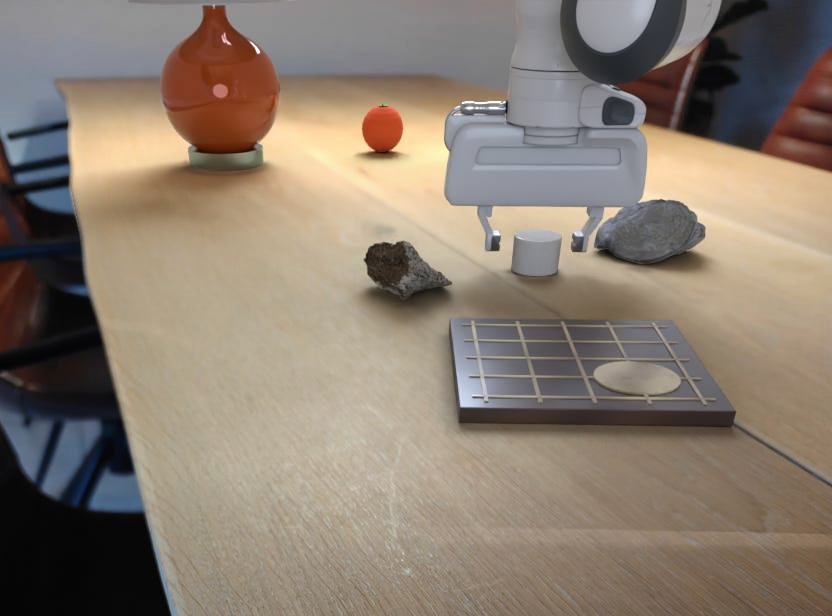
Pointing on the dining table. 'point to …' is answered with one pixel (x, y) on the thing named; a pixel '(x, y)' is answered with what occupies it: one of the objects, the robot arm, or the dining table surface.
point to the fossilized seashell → (650, 231)
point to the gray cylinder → (536, 252)
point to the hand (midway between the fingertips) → (535, 250)
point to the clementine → (382, 128)
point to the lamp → (219, 89)
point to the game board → (581, 373)
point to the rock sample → (401, 269)
